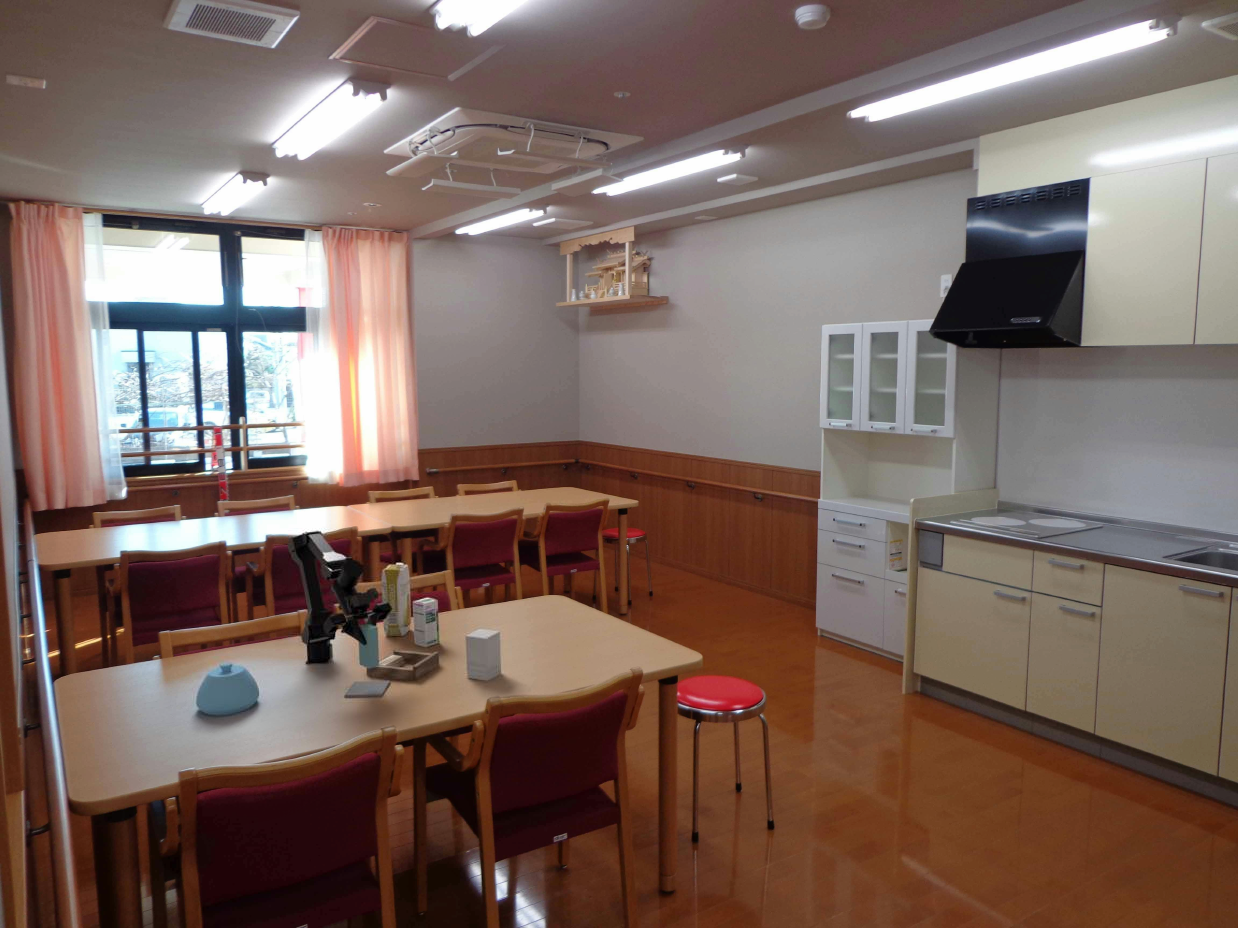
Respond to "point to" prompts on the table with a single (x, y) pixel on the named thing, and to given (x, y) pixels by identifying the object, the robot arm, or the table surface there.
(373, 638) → the teal board
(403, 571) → the juice carton
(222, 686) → the sugar bowl
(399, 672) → the walnut tray
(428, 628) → the syrup box
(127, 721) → the table surface
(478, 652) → the supplement box
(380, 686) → the grey mat
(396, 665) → the offcut stack
